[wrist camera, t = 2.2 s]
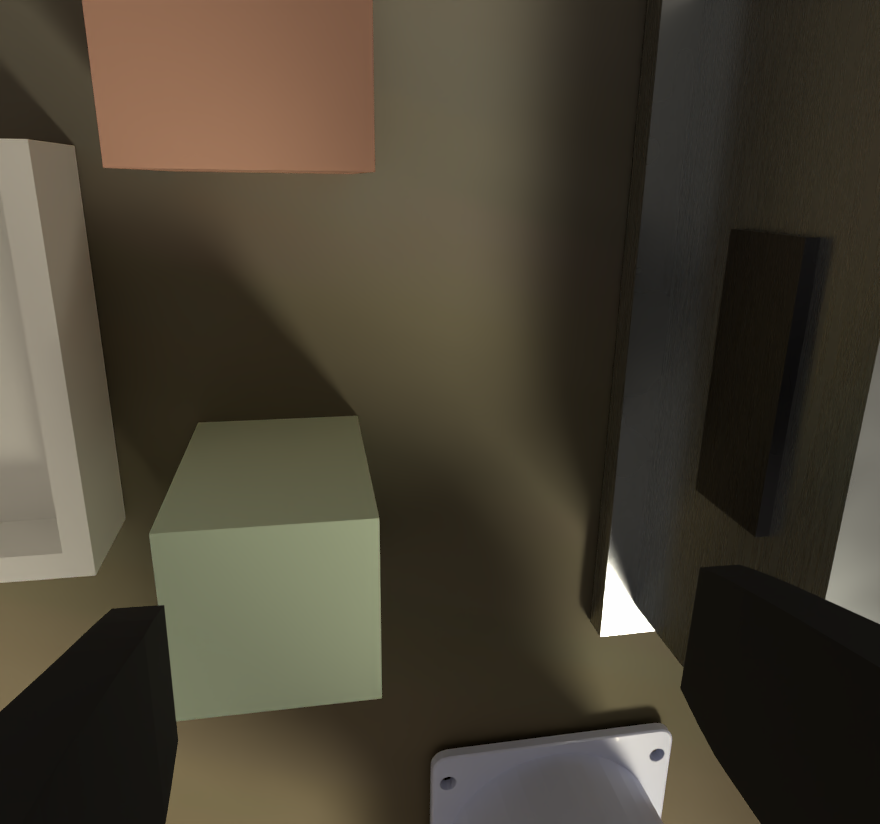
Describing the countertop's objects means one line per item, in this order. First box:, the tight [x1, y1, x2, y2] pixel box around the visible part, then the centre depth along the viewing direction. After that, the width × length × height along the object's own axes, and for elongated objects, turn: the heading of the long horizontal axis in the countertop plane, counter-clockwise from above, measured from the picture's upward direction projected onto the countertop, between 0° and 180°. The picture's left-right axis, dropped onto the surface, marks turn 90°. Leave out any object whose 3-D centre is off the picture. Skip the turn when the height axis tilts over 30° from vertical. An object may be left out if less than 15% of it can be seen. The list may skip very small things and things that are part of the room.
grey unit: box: [590, 0, 880, 667], centre depth 16 cm, size 18×6×8 cm, turn 179°
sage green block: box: [149, 416, 382, 721], centre depth 16 cm, size 4×4×6 cm
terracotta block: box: [82, 0, 375, 174], centre depth 13 cm, size 4×4×6 cm
